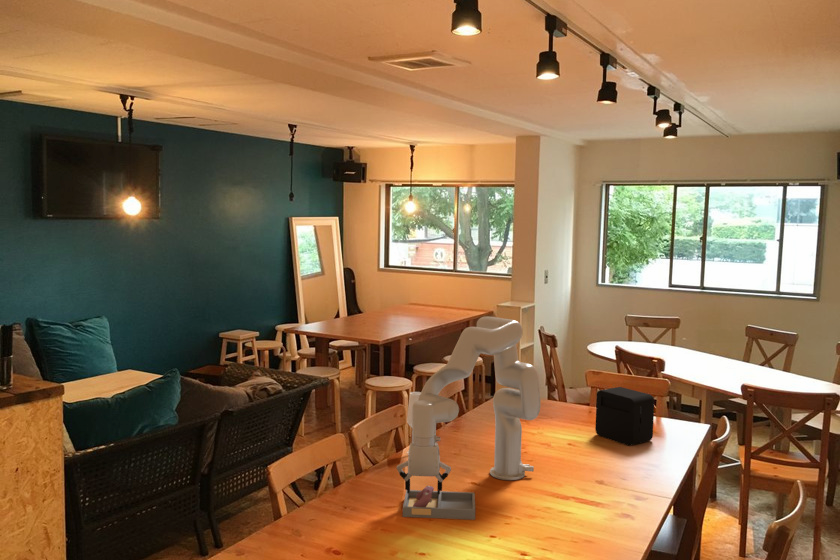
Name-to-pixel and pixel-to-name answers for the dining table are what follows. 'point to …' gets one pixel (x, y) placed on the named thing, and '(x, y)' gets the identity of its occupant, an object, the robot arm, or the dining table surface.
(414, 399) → the champagne flute
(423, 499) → the purple-brown lumpy piece
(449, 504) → the tray
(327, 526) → the dining table surface
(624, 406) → the air purifier
